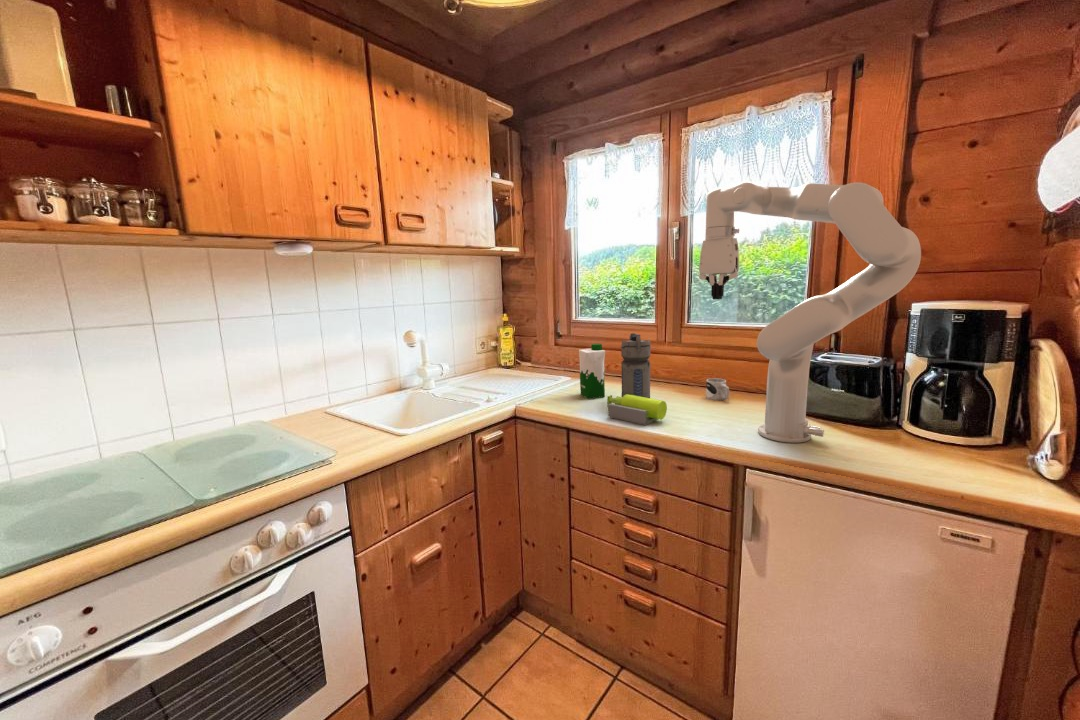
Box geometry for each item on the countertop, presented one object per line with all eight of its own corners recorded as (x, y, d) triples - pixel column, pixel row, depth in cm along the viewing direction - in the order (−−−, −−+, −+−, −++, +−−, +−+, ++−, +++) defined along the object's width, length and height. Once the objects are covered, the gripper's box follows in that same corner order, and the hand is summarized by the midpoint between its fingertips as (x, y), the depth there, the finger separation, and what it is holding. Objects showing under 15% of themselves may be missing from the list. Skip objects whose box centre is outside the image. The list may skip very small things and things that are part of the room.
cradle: (662, 416, 137) (662, 402, 136) (644, 425, 129) (644, 411, 128) (627, 409, 146) (626, 396, 145) (608, 417, 138) (608, 404, 137)
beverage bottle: (645, 395, 162) (646, 330, 157) (653, 405, 149) (653, 334, 144) (618, 396, 162) (618, 331, 158) (624, 406, 149) (623, 335, 145)
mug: (702, 396, 158) (702, 379, 157) (717, 394, 160) (718, 377, 158) (719, 403, 148) (720, 385, 147) (736, 401, 150) (736, 383, 149)
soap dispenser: (666, 420, 133) (613, 409, 147) (667, 399, 132) (613, 389, 146) (656, 425, 129) (603, 412, 143) (657, 402, 128) (603, 392, 142)
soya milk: (608, 397, 162) (607, 345, 158) (586, 400, 159) (585, 347, 156) (598, 391, 170) (597, 342, 167) (577, 394, 168) (576, 344, 164)
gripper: (751, 232, 120) (748, 298, 123) (699, 237, 130) (697, 298, 133) (742, 230, 114) (739, 299, 118) (688, 236, 124) (687, 299, 128)
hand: (717, 298), depth 125 cm, fingers closed
